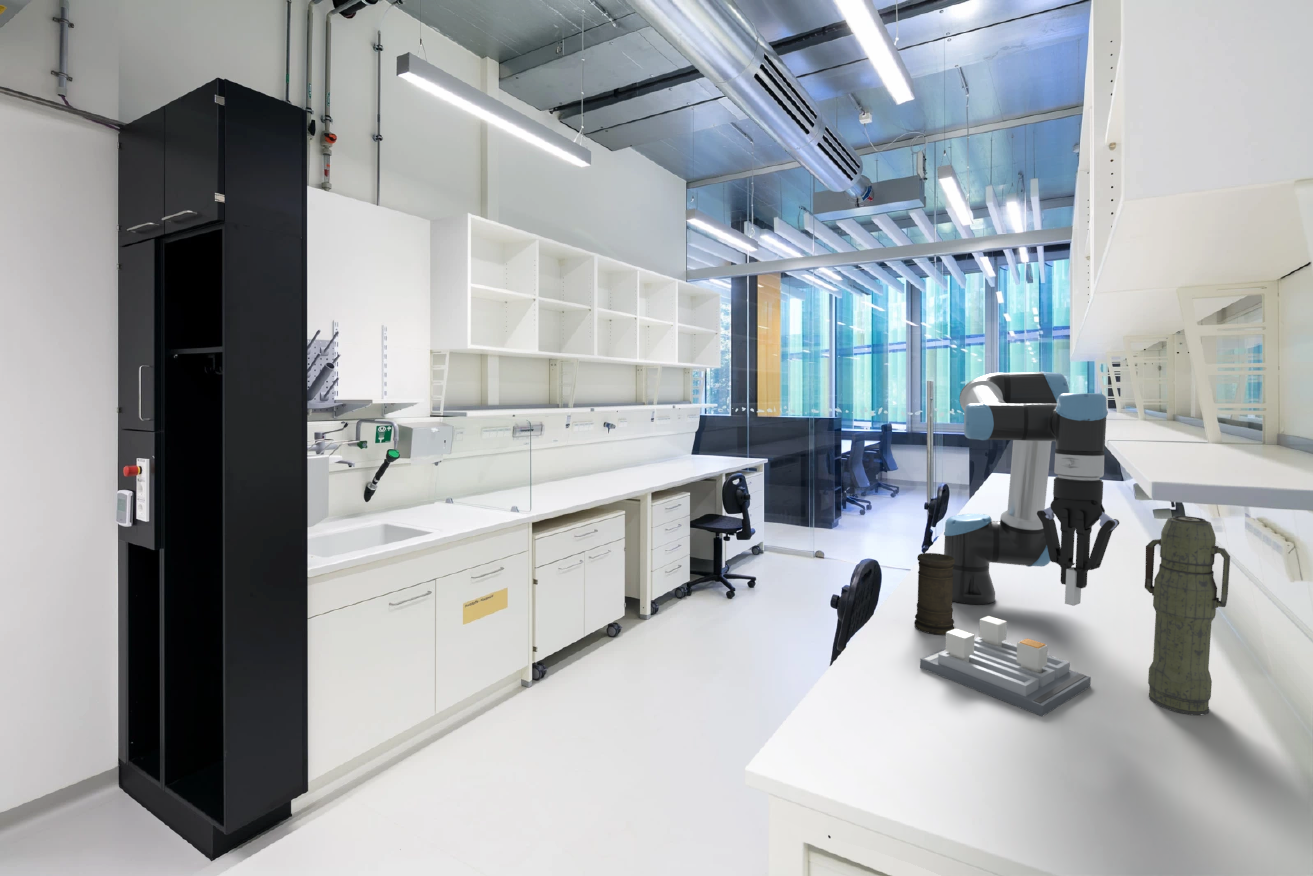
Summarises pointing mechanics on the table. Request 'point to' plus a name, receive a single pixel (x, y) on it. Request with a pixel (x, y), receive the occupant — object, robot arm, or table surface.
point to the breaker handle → (1032, 655)
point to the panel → (1004, 669)
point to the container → (935, 593)
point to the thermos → (1184, 613)
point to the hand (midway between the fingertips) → (1072, 603)
